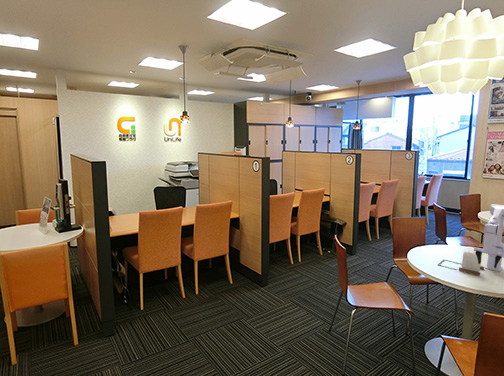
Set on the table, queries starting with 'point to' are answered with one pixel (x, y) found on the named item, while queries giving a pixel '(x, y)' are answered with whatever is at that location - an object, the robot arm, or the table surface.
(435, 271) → the table surface
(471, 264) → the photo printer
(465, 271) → the walnut rails
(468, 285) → the table surface
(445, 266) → the charcoal frame
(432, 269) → the table surface
